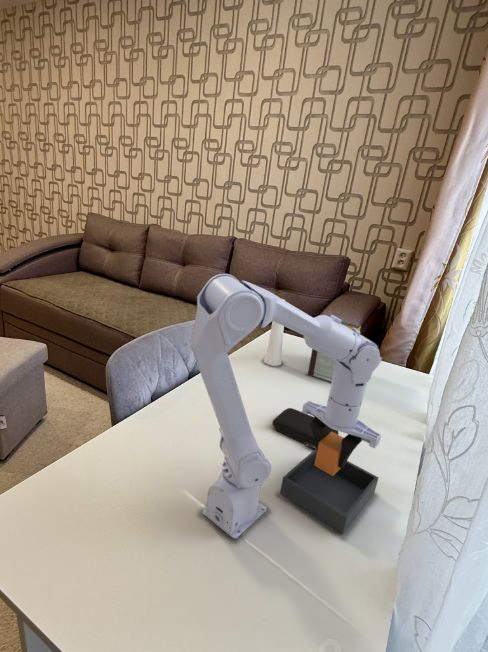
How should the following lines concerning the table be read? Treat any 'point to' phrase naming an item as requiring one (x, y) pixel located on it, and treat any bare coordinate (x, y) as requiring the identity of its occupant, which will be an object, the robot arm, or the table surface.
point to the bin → (329, 491)
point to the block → (329, 453)
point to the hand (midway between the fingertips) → (331, 459)
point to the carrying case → (297, 426)
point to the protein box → (325, 361)
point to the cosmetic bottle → (275, 345)
